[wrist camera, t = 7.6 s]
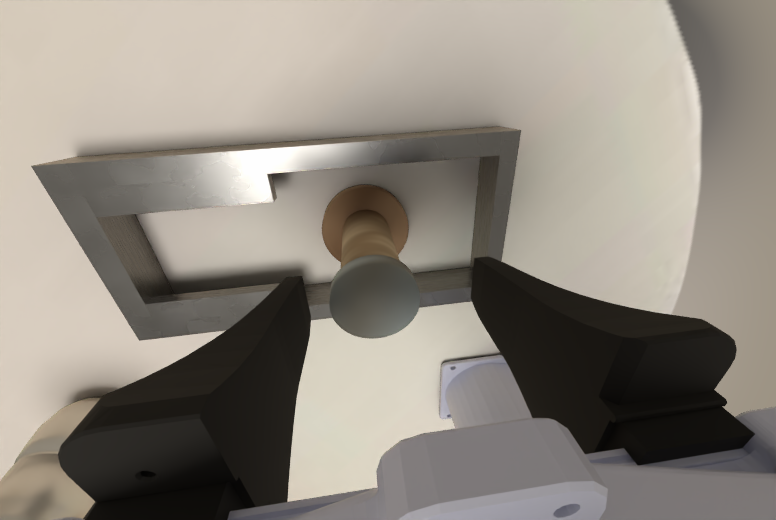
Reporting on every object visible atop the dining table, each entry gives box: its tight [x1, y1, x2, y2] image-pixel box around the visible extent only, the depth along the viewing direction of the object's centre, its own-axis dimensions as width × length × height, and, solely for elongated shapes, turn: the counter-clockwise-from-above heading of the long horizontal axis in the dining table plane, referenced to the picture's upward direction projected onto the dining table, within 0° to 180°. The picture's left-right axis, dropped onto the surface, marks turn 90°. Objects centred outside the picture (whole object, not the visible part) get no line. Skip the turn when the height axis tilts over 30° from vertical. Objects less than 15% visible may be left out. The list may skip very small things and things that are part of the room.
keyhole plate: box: [31, 127, 521, 341], centre depth 18 cm, size 24×11×3 cm, turn 93°
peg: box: [322, 185, 420, 338], centre depth 16 cm, size 6×6×9 cm
